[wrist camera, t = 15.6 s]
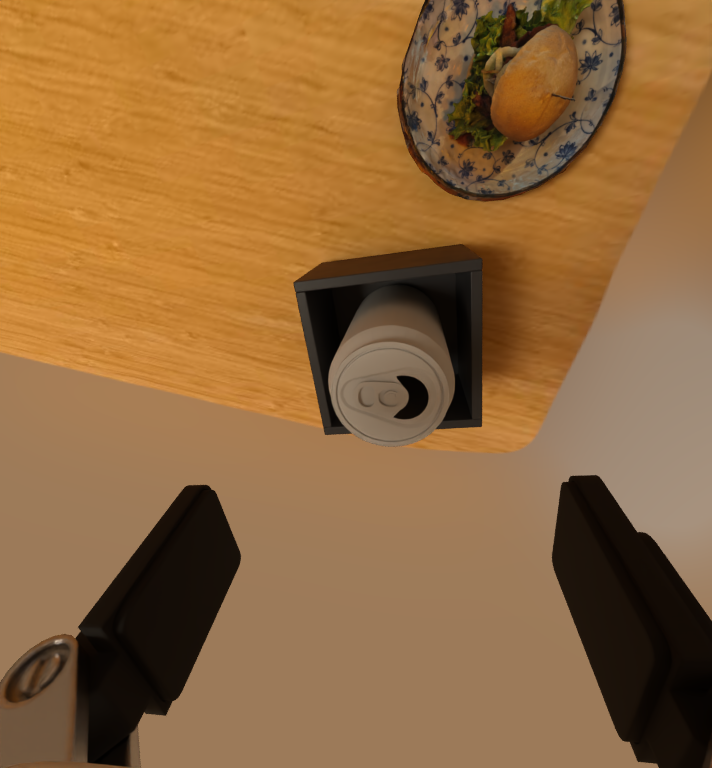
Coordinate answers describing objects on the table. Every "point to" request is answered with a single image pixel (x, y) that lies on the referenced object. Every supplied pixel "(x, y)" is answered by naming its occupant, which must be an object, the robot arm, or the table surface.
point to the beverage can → (392, 369)
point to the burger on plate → (507, 89)
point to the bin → (412, 268)
